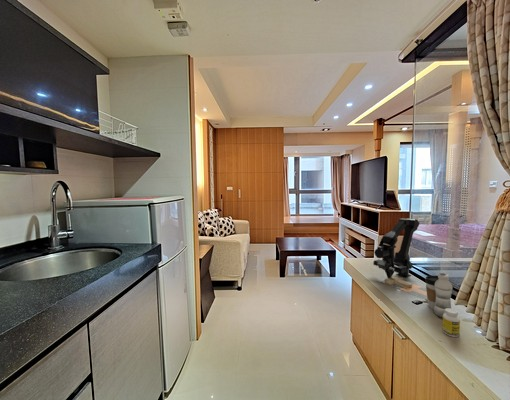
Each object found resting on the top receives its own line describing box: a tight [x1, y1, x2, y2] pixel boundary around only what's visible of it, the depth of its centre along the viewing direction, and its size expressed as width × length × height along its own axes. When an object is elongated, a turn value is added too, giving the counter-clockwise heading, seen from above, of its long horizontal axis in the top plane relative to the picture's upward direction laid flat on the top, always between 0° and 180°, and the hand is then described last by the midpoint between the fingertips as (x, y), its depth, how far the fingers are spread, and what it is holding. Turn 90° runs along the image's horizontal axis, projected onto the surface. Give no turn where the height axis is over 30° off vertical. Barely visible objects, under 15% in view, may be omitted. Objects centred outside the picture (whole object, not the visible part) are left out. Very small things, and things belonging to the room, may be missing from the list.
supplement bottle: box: [442, 308, 461, 338], centre depth 96 cm, size 5×5×10 cm
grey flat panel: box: [376, 275, 428, 302], centre depth 138 cm, size 14×30×1 cm, turn 26°
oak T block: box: [383, 275, 412, 289], centre depth 141 cm, size 12×12×2 cm
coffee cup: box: [424, 275, 439, 310], centre depth 115 cm, size 8×8×15 cm
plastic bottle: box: [433, 272, 453, 319], centre depth 107 cm, size 6×7×20 cm
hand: (389, 279), depth 148 cm, fingers closed
